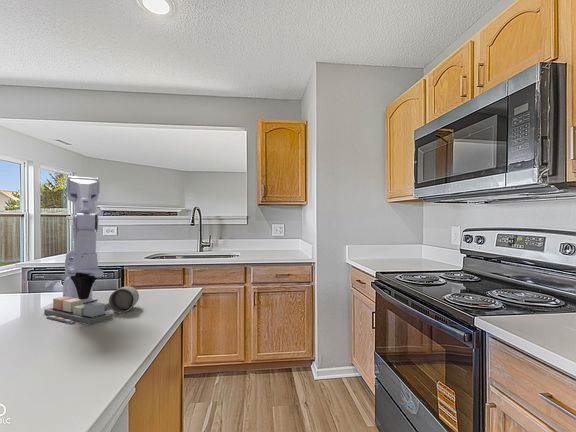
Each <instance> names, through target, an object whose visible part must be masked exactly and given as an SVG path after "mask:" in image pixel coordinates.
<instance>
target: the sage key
mask: <svg viewBox="0 0 576 432" xmlns="http://www.w3.org/2000/svg"><path fill="white" fill-rule="evenodd" d="M85 304H86V303H83V305H79V306H74V307H73V315H78V316H82V315H84V305H85Z"/></svg>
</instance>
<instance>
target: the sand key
mask: <svg viewBox="0 0 576 432" xmlns="http://www.w3.org/2000/svg"><path fill="white" fill-rule="evenodd" d="M83 304H84V303H83V300H80V299H78V298H73V299H68V300H63V311H67V312H73V307H74V306H79V305H83Z"/></svg>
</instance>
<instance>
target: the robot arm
mask: <svg viewBox="0 0 576 432" xmlns="http://www.w3.org/2000/svg"><path fill="white" fill-rule="evenodd" d="M100 185H101V181H100V178H99V177H85V176H73V175H72V176H71V175H68V176H67V177H66V193H67V194H66V197H67V200H68V201H69V202H72V203H73V208H74V209H73V211H74V212H73V213H74V214H73V215H72V235H73V237H72V238H73V249H71V250H70V251H68V252H67V253H66V254H65V259H64V275H65V276H66V278H65V279H64V280H63V282H62V283H63V284H62V297H64V296H68V297H73V298H78V299H80V300H83V304H87V303H90V302H91V303H92V302H95V301H98V300H99V299H98V298H96V297H93V285H94V283H95V281H96V280H97V279H98V278H101V277H104V269H101V268H98V254H97V233H98V231H99V215H98V212H97V211H96V202H97V201H98V199H99V194H100V188H101V187H100ZM95 231H96V232H95Z"/></svg>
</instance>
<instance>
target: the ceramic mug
mask: <svg viewBox="0 0 576 432" xmlns="http://www.w3.org/2000/svg"><path fill="white" fill-rule="evenodd" d="M139 298H140V294H139V292H138V290H137V289H136V288H135V287H133V286H130V285H127V286H122V287H120V288H117V289H116V290H114V291H113V292H112V293H111V294H110V296H109V297H108V303H104V304H105V311H107V310H110V309H111V310H112V311H113V312H115V313H118V314H124V313H127V312H129V311H130V310H131V309H132V308H133V307H134V306H136V304H137V303H138V301H139Z"/></svg>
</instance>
